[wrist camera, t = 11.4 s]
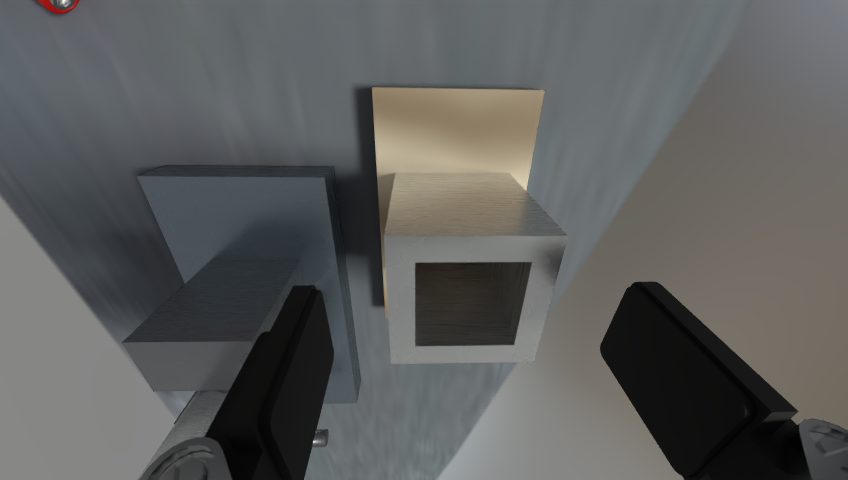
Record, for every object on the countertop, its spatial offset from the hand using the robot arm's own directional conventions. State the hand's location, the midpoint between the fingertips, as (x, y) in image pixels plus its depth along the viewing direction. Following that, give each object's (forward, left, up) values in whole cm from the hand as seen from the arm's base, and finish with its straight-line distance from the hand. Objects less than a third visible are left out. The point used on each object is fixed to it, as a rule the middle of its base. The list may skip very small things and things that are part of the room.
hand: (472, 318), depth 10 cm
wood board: (+1, 0, -10) cm, 10 cm away
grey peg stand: (+7, -11, -10) cm, 16 cm away
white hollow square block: (+1, 0, -9) cm, 9 cm away
